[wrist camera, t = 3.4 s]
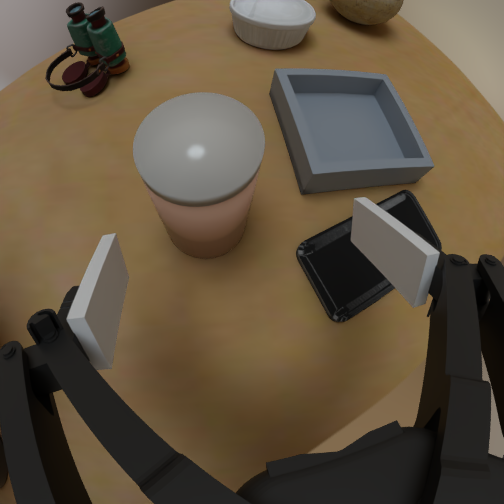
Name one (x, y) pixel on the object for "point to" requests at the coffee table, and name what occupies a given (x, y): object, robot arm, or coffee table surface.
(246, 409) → the coffee table surface
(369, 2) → the fossilized egg
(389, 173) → the tray
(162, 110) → the beige round cylinder
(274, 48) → the ramekin
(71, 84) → the binoculars
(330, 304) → the phone
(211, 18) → the coffee table surface
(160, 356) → the coffee table surface
